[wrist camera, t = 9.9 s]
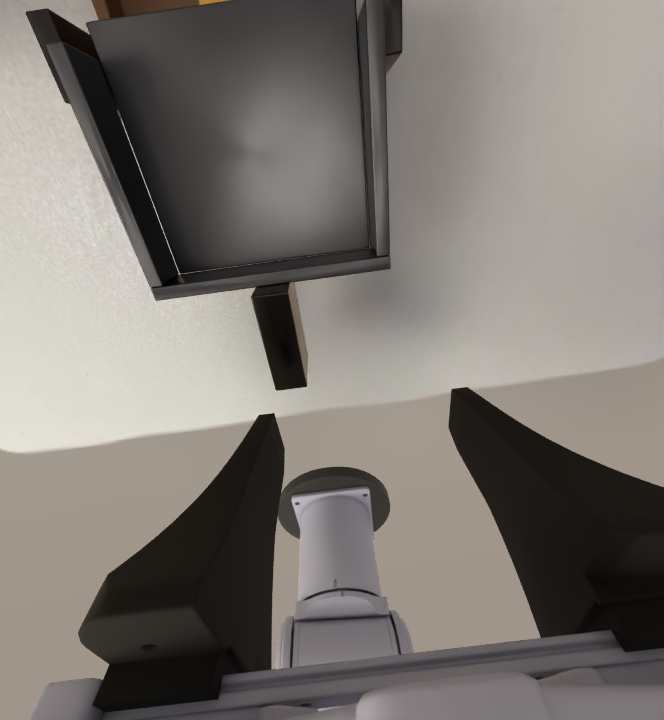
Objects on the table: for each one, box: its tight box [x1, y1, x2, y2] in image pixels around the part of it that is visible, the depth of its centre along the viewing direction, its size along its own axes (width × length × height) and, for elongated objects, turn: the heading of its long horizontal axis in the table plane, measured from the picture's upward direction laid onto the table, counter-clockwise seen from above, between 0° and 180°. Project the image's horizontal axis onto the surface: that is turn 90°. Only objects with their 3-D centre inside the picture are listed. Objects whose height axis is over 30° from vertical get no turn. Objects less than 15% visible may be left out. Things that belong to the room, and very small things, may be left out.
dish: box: [45, 0, 391, 390], centre depth 14 cm, size 15×11×4 cm
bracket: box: [26, 0, 402, 119], centre depth 13 cm, size 2×13×4 cm, turn 97°
